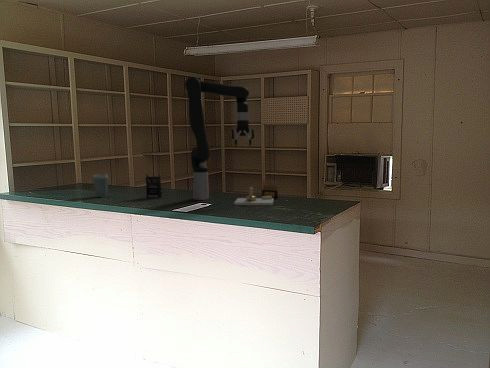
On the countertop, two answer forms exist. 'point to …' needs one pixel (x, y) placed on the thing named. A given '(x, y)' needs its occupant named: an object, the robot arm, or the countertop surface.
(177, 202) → the countertop surface
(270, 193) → the ammunition clip
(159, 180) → the geiger counter
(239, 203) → the base plate
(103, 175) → the disposable coffee cup
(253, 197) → the levelling knob
